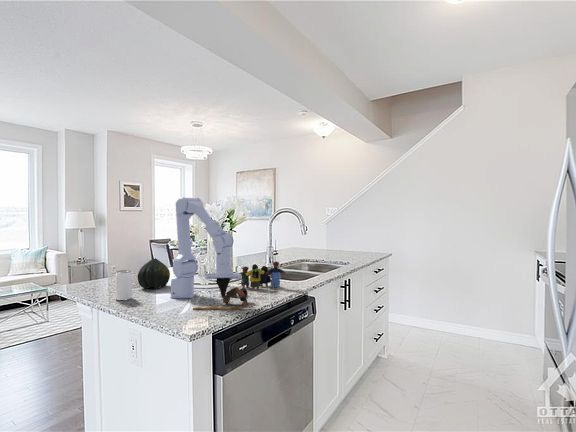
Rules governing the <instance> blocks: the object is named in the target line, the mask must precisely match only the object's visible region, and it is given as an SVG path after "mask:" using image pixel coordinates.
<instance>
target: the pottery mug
mask: <svg viewBox="0 0 576 432" xmlns="http://www.w3.org/2000/svg"><path fill="white" fill-rule="evenodd" d="M247 293H248V290H247V288H246V287H245V288H242V287H241V289H240V290H239V289H238V288H237V287H236V288H233V289H231V290H230V289H229V290H228V291H226V294H225V295H223V296H222V297H221V299H222V303H223V304H226V305H228V304H229V303H230V302H231V301H230V300H231V299H238V298H239V299H240V302H241V306H243V308H246V307H248V306H249V302H248V300H247V297H248V294H247ZM237 294H238V295H239V297H237Z"/></svg>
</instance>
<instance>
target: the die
mask: <svg viewBox="0 0 576 432" xmlns="http://www.w3.org/2000/svg"><path fill="white" fill-rule="evenodd" d="M236 287H237V288H238V289H239V290H240V289H242V285H241V283H231V284H230V285H229V291H230V290H231V289H233V288H236ZM237 298H240V297H239V295H238V294H237Z"/></svg>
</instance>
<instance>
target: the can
mask: <svg viewBox="0 0 576 432" xmlns="http://www.w3.org/2000/svg"><path fill="white" fill-rule="evenodd" d="M114 281H115V284H114V286H115V300H116V299H117V300H125V299H130V298H131V299H132V298H133V273H132V270H129V269H127V270H126V269H124V270H122V269H121V270H117V271H116V273H115V279H114ZM131 299H130V300H131ZM117 300H116V301H117ZM125 301H126V300H125Z"/></svg>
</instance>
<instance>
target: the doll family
mask: <svg viewBox="0 0 576 432" xmlns="http://www.w3.org/2000/svg"><path fill="white" fill-rule="evenodd" d="M272 265H273V267H272V268H268V267H267V266H266V265H262V267H261V268H259V267H258V266H259V265H257V264H256V263H254V264H252V267H251V270H250V269H249V267H248V266H242V267H241V270H242V271H241V272H239V273H237V274H241V282H240V284H241V289H242V288H245V289H251V290H260V288H263V287H269V284H270V288H275V287H276V288H280V287H281V285H280V284H281V281H280V280H281V279H280V278H281V277H280V274H283V275H286V274H287V273H286V272H285V271H284V270H283V269H281V268H279V265H280V262H279V261H273V262H272Z"/></svg>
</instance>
